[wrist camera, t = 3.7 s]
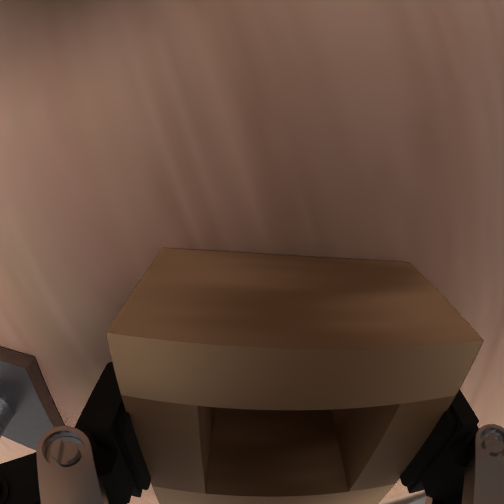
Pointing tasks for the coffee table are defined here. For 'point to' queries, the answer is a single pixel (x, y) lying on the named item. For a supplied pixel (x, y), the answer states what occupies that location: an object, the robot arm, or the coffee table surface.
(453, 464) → the robot arm
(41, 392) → the peg stand
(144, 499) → the coffee table surface
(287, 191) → the coffee table surface
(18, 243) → the coffee table surface
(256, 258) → the square wooden ring
